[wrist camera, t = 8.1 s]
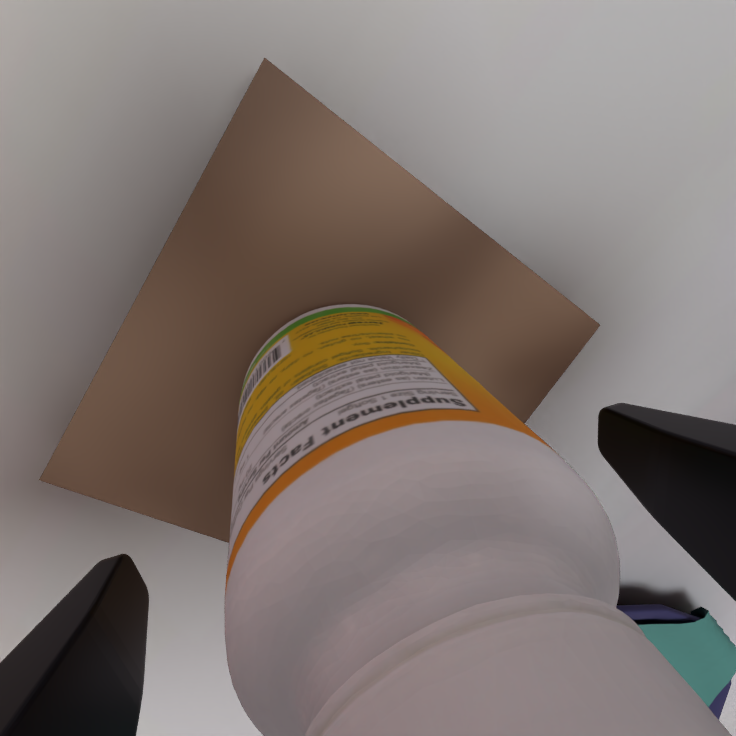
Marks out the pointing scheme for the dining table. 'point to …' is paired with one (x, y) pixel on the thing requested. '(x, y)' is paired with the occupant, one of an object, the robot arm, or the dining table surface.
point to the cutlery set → (690, 648)
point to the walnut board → (293, 303)
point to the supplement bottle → (421, 556)
